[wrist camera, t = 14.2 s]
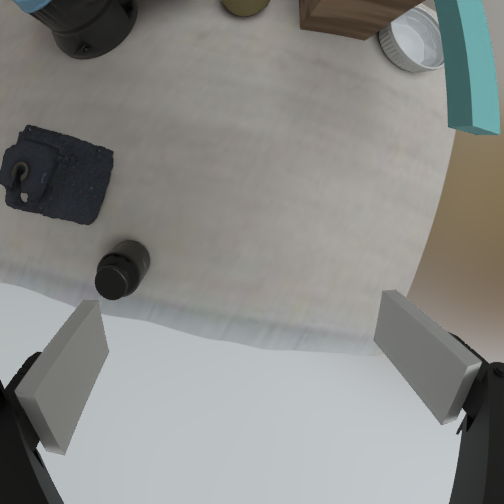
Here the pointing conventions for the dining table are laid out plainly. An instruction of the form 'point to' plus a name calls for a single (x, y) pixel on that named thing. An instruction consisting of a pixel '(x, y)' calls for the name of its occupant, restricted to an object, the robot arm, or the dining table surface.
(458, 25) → the peg
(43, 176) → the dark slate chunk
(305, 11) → the post
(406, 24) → the ramekin
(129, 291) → the supplement bottle
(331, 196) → the dining table surface
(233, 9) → the squeeze bottle
